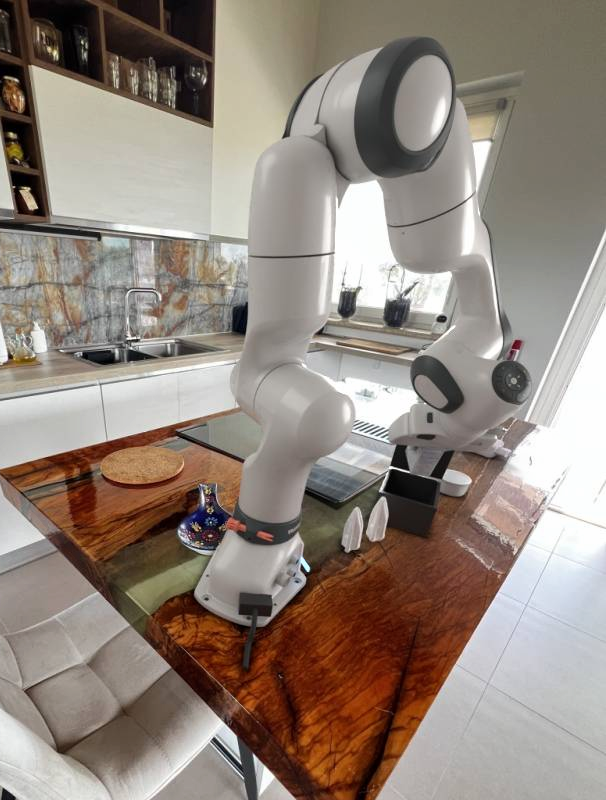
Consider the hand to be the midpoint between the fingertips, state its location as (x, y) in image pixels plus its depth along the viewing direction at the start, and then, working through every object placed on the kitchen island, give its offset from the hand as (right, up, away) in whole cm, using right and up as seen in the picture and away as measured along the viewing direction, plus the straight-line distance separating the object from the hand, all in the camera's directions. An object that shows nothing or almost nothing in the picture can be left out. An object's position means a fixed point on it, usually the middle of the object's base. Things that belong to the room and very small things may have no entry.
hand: (423, 448), depth 92 cm
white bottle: (+44, +4, +48) cm, 66 cm away
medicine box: (0, -3, +3) cm, 5 cm away
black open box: (-1, -15, +10) cm, 18 cm away
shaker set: (-14, -21, -1) cm, 25 cm away
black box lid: (+3, +1, +6) cm, 6 cm away
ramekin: (+18, -9, +23) cm, 31 cm away
